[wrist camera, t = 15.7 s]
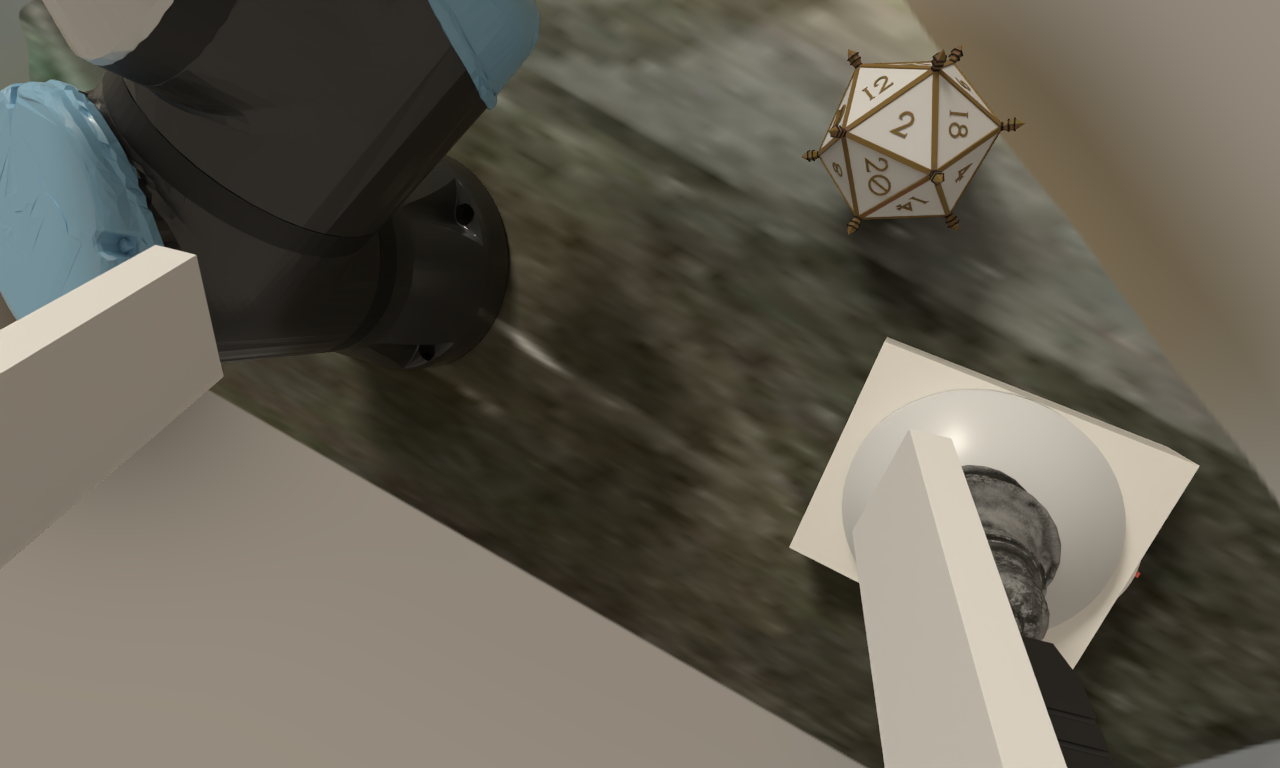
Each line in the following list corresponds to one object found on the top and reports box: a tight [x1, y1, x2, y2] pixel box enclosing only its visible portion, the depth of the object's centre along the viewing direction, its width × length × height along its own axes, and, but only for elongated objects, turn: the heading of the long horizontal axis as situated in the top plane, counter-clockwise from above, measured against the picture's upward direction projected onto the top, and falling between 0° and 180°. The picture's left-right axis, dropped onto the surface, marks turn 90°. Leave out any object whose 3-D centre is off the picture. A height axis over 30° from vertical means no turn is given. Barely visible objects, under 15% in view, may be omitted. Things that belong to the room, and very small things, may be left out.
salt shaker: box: [961, 465, 1061, 640], centre depth 26 cm, size 6×6×12 cm
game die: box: [802, 45, 1025, 235], centre depth 32 cm, size 9×8×10 cm
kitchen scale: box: [789, 337, 1199, 669], centre depth 34 cm, size 14×12×5 cm
